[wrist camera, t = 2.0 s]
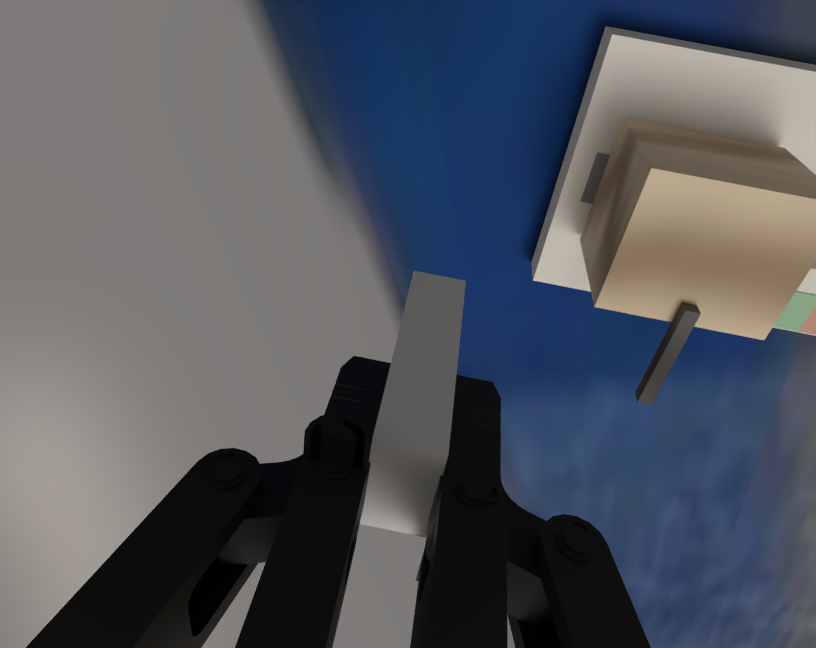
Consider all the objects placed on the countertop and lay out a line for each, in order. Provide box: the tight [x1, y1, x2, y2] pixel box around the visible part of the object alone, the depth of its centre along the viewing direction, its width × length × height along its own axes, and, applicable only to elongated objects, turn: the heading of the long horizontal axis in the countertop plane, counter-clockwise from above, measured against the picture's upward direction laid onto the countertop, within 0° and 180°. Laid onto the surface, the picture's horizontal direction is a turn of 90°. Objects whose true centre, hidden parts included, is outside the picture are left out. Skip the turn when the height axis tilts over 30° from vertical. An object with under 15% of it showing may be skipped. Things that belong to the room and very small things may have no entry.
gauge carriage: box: [580, 118, 816, 404], centre depth 25 cm, size 10×10×7 cm
